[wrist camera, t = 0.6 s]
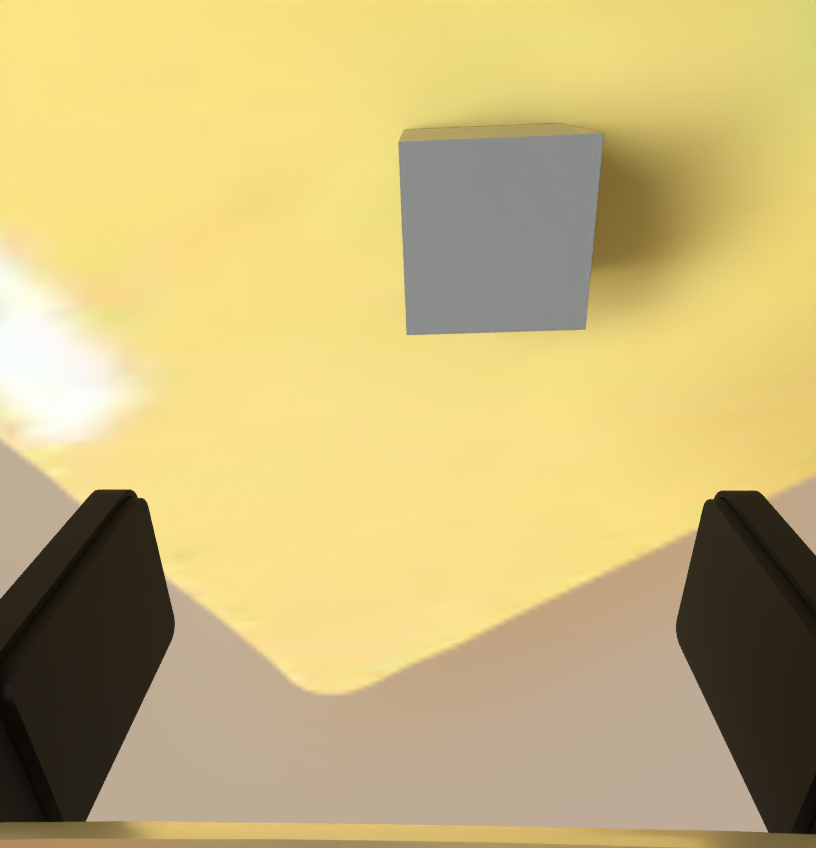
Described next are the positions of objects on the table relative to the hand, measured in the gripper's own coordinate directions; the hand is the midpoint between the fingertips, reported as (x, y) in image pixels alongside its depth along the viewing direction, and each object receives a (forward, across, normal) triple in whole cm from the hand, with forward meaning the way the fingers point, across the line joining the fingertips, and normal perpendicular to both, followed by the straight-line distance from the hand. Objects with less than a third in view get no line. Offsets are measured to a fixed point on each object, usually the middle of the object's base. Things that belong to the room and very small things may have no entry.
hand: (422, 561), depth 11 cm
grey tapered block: (+26, -3, -2) cm, 27 cm away
